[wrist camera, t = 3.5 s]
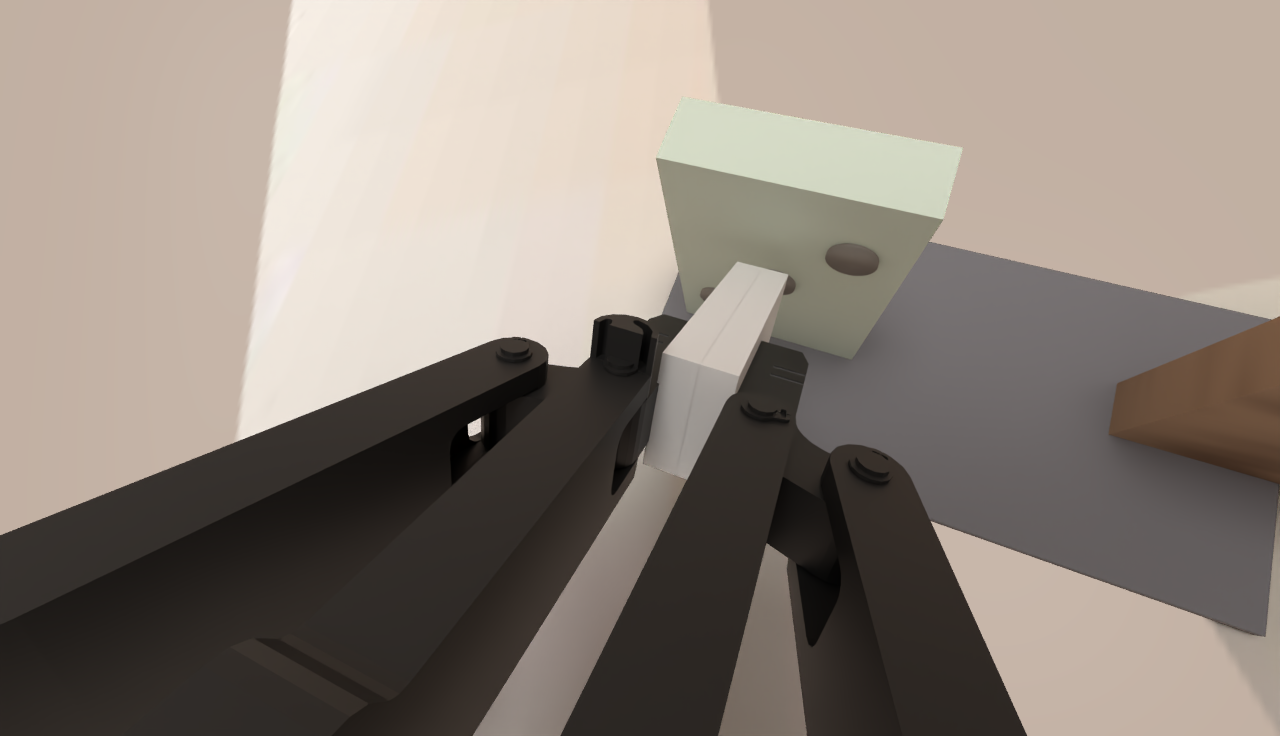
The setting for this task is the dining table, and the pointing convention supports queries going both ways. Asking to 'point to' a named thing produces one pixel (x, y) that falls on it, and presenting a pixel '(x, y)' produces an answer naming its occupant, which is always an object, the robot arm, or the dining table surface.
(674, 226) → the sage tile three pips
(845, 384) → the charcoal mat
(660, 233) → the dining table surface
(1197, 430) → the walnut tile one pip
